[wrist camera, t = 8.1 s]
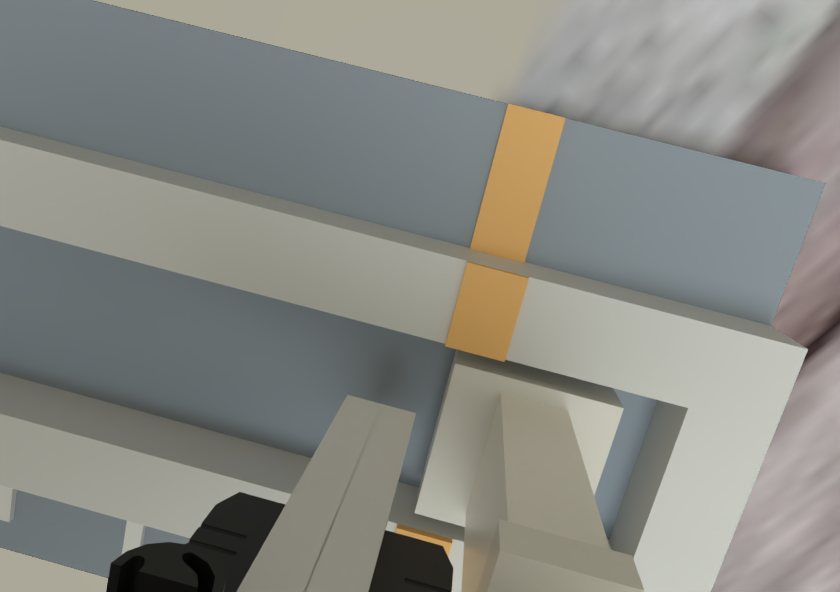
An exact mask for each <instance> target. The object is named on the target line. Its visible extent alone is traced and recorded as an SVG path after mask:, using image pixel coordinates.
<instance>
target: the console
mask: <svg viewBox="0 0 840 592" xmlns="http://www.w3.org/2000/svg"><path fill="white" fill-rule="evenodd" d="M825 184H826V183H823V182H819V181H815V180H811V179H807V178H803V177H799V176H795V175H791V174H787V173H783V172H779V171H775V170H771V169H767V168H763V167H759V166H755V165H751V164H747V163H743V162H739V161H735V160H731V159H727V158H723V157H719V156H715V155H711V154H707V153H703V152H699V151H695V150H691V149H687V148H683V147H679V146H675V145H671V144H667V143H663V142H659V141H655V140H651V139H647V138H643V137H639V136H635V135H631V134H627V133H623V132H619V131H615V130H611V129H607V128H603V127H599V126H595V125H591V124H587V123H583V122H579V121H574V120H570V119H566V118H565V117H561V116H557V115H553V114H549V113H545V112H541V111H537V110H533V109H529V108H525V107H521V106H517V105H513V104H509V103H508V104H506V103H502V102H498V101H494V100H490V99H486V98H482V97H478V96H474V95H470V94H466V93H462V92H458V91H454V90H450V89H446V88H442V87H438V86H434V85H430V84H426V83H422V82H418V81H414V80H410V79H406V78H402V77H398V76H394V75H390V74H386V73H382V72H378V71H374V70H370V69H366V68H362V67H358V66H354V65H350V64H346V63H342V62H338V61H334V60H330V59H326V58H322V57H318V56H314V55H310V54H306V53H302V52H298V51H294V50H290V49H285V48H281V47H277V46H274V45H269V44H265V43H261V42H257V41H253V40H250V39H246V38H242V37H238V36H234V35H230V34H226V33H221V32H217V31H213V30H210V29H206V28H201V27H198V26H194V25H189V24H185V23H181V22H177V21H173V20H169V19H165V18H161V17H157V16H153V15H149V14H145V13H141V12H137V11H133V10H129V9H125V8H121V7H117V6H113V5H109V4H105V3H101V2H97V1H93V0H0V547H1V548H4V549H8V550H11V551H15V552H18V553H22V554H25V555H29V556H32V557H36V558H39V559H43V560H47V561H50V562H53V563H57V564H60V565H64V566H67V567H71V568H75V569H78V570H81V571H85V572H89V573H92V574H95V575H99V576H102V577H106V578H109V571H110V565H111V562H113V561H114V560H115V559H117V558H118V557H119V556H121V555H122V554H123V553H125V552H126V551H129V550H131V549H134V548H137V547H140V546H143V545H146V544H152V543H163V542H173V543H180V544H186V543H189V540H190V538H191V537H192V535H193V534H194V533H195V531H196V530H197V529H198V527H201V524H202V522H203V521H204V519H205V518H206V517H207V515H208V514H209V513H210V511H211V510H212V509H213V508H214V506H215V505H216V504H218V503H220V502H221V501H223V500H225V499H227V498H229V497H231V496H233V495H235V494H237V493H238V492H242V493H246V494H249V495H253V496H257V497H260V498H264V499H267V500H271V501H275V502H278V503H282V504H285V505H286V503H287V501H288V500H289V498H290V496H291V494H292V492H293V491H294V489H295V487H296V485H297V484H298V482H299V480H300V478H301V476H302V475H303V473H304V471H305V469H306V468H307V466H308V464H309V462H310V461H311V459H312V457H313V455H314V453H315V452H316V450H317V448H318V446H319V445H320V443H321V441H322V439H323V437H324V436H325V434H326V432H327V430H328V429H329V427H330V425H331V423H332V421H333V420H334V418H335V416H336V414H337V413H338V411H339V409H340V407H341V406H342V404H343V402H344V400H345V398H346V397H347V395H350V396H354V397H358V398H361V399H365V400H369V401H372V402H376V403H380V404H384V405H387V406H391V407H395V408H398V409H402V410H406V411H409V412H413V413H416V416H415V420H414V423H413V427H412V431H411V435H410V439H409V442H408V446H407V450H406V454H405V458H404V462H403V465H402V469H401V473H400V477H399V481H398V485H397V488H396V492H395V496H394V500H393V504H392V507H391V511H390V515H389V519H388V523H387V527H386V530H387V531H391V532H394V533H398V534H402V535H405V536H409V537H412V538H416V539H420V540H423V541H427V542H430V543H434V544H438V545H441V546H443V547H444V549H445V552H446V554H447V556H448V558H449V560H450V562H451V564H452V566H453V580H452V591H451V592H461V588H462V571H463V554H464V537H465V527H463V526H459V525H455V524H452V523H448V522H445V521H441V520H437V519H434V518H430V517H426V516H423V515H419V514H416V513H415V508H416V503H417V498H418V493H419V488H420V483H421V478H422V474H423V470H424V467H425V463H426V459H427V456H428V452H429V448H430V445H431V441H432V437H433V434H434V430H435V426H436V422H437V419H438V415H439V411H440V408H441V404H442V400H443V397H444V393H445V389H446V386H447V382H448V378H449V374H450V371H451V367H452V363H453V360H454V356H455V352H456V349H457V350H461V351H465V352H468V353H472V354H476V355H480V356H484V357H487V358H491V359H495V360H499V361H502V362H505V360H509V361H512V362H516V363H520V364H524V365H527V366H531V367H535V368H539V369H543V370H546V371H550V372H554V373H558V374H561V375H565V376H569V377H573V378H577V379H580V380H584V381H588V382H592V383H595V384H599V385H603V386H607V387H611V388H614V390H615V392H616V394H617V396H618V398H619V400H620V402H621V404H622V405H623V407H624V410H623V413H622V416H621V419H620V422H619V424H618V427H617V430H616V433H615V436H614V439H613V442H612V445H611V448H610V451H609V454H608V457H607V460H606V463H605V466H604V468H603V471H602V474H601V477H600V480H599V483H598V486H597V489H596V492H595V495H594V498H595V501H596V504H597V508H598V511H599V514H600V517H601V521H602V524H603V527H604V531H605V534H606V537H607V540H608V544H609V547H610V550H614V551H617V552H621V553H624V554H628V555H632V557H633V560H634V562H635V565H636V568H637V571H638V574H639V577H640V579H641V582H642V585H643V588H644V592H711V590H712V587H713V585H714V582H715V580H716V577H717V575H718V572H719V570H720V567H721V565H722V562H723V560H724V557H725V555H726V552H727V550H728V547H729V545H730V542H731V540H732V537H733V535H734V532H735V530H736V527H737V525H738V522H739V520H740V517H741V515H742V512H743V510H744V507H745V505H746V503H747V500H748V498H749V495H750V493H751V490H752V488H753V485H754V483H755V480H756V478H757V475H758V473H759V470H760V468H761V465H762V463H763V460H764V458H765V455H766V453H767V450H768V448H769V445H770V443H771V440H772V438H773V435H774V433H775V430H776V428H777V425H778V423H779V420H780V418H781V416H782V413H783V411H784V408H785V406H786V403H787V401H788V398H789V396H790V393H791V391H792V388H793V386H794V383H795V381H796V378H797V376H798V373H799V371H800V368H801V366H802V363H803V361H804V358H805V356H806V353H807V351H808V349H807V348H805V347H804V346H802V345H800V344H799V343H797V342H796V341H794V340H793V339H791V338H789V337H788V336H786V335H785V334H783V333H782V332H780V331H778V330H777V329H775V328H774V327H772V326H771V324H772V322H773V319H774V316H775V314H776V311H777V309H778V306H779V303H780V301H781V298H782V296H783V293H784V290H785V288H786V285H787V283H788V280H789V277H790V275H791V272H792V270H793V267H794V264H795V262H796V259H797V257H798V254H799V252H800V249H801V246H802V244H803V241H804V239H805V236H806V233H807V231H808V228H809V226H810V223H811V220H812V218H813V215H814V213H815V210H816V207H817V205H818V202H819V200H820V197H821V194H822V192H823V189H824V187H825Z"/></svg>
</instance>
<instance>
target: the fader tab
mask: <svg viewBox="0 0 840 592" xmlns="http://www.w3.org/2000/svg"><path fill="white" fill-rule="evenodd" d="M623 410H624V407H623V405H622V404H621V402H620V400H619V398H618V396H617V394H616V392H615V390H614V388H611V387H607V386H603V385H599V384H595V383H592V382H588V381H584V380H580V379H577V378H573V377H569V376H565V375H561V374H558V373H554V372H550V371H546V370H543V369H539V368H535V367H531V366H527V365H524V364H520V363H516V362H512V361H509V360H505V362H502V361H499V360H495V359H491V358H487V357H484V356H480V355H476V354H472V353H468V352H465V351H461V350H457V349H456V352H455V356H454V360H453V363H452V367H451V371H450V374H449V378H448V382H447V386H446V389H445V393H444V397H443V400H442V404H441V408H440V411H439V415H438V419H437V422H436V426H435V430H434V434H433V437H432V441H431V445H430V448H429V452H428V456H427V459H426V463H425V467H424V470H423V474H422V478H421V483H420V488H419V493H418V498H417V503H416V508H415V513H416V514H419V515H423V516H426V517H430V518H434V519H437V520H441V521H445V522H448V523H452V524H455V525H459V526H463V527H465V537H464V554H463V571H462V588H461V592H644V588H643V585H642V582H641V579H640V577H639V574H638V571H637V568H636V565H635V562H634V560H633V557H632V555H628V554H624V553H621V552H617V551H614V550H610V547H609V544H608V540H607V537H606V534H605V531H604V527H603V524H602V521H601V517H600V514H599V511H598V508H597V504H596V501H595V498H594V495H595V492H596V489H597V486H598V483H599V480H600V477H601V474H602V471H603V468H604V466H605V463H606V460H607V457H608V454H609V451H610V448H611V445H612V442H613V439H614V436H615V433H616V430H617V427H618V424H619V422H620V419H621V416H622V413H623Z"/></svg>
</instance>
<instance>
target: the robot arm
mask: <svg viewBox="0 0 840 592" xmlns="http://www.w3.org/2000/svg"><path fill="white" fill-rule="evenodd" d="M415 416H416V413H413V412H409V411H406V410H402V409H398V408H395V407H391V406H387V405H384V404H380V403H376V402H372V401H369V400H365V399H361V398H358V397H354V396H350V395H347V397H346V398H345V400H344V402H343V404H342V406H341V407H340V409H339V411H338V413H337V414H336V416H335V418H334V420H333V421H332V423H331V425H330V427H329V429H328V430H327V432H326V434H325V436H324V437H323V439H322V441H321V443H320V445H319V446H318V448H317V450H316V452H315V453H314V455H313V457H312V459H311V461H310V462H309V464H308V466H307V468H306V469H305V471H304V473H303V475H302V476H301V478H300V480H299V482H298V484H297V485H296V487H295V489H294V491H293V492H292V494H291V496H290V498H289V500H288V501H287V503H286V505H285V504H282V503H278V502H275V501H271V500H267V499H264V498H260V497H257V496H253V495H249V494H246V493H242V492H238V493H237V494H235V495H233V496H231V497H229V498H227V499H225V500H223V501H221V502H220V503H218V504H216V505H215V506H214V508H213V509H212V510H211V511H210V513H209V514H208V515H207V517H206V518H205V519H204V521H203V522H202V524H201V527H198V529H197V530H196V531H195V533H194V534H193V535H192V537H191V538H190V540H189V543H186V544H180V543H173V542H163V543H152V544H146V545H143V546H140V547H137V548H134V549H131V550H129V551H126V552H125V553H123V554H122V555H121V556H119V557H118V558H117V559H115V560H114V561H113V562H111V565H110V571H109V578H108V584H107V591H106V592H451V591H452V580H453V566H452V564H451V562H450V560H449V558H448V556H447V554H446V552H445V549H444V547H443V546H441V545H438V544H434V543H430V542H427V541H423V540H420V539H416V538H412V537H409V536H405V535H402V534H398V533H394V532H391V531H387V530H386V527H387V523H388V519H389V515H390V511H391V507H392V504H393V500H394V496H395V492H396V488H397V485H398V481H399V477H400V473H401V469H402V465H403V462H404V458H405V454H406V450H407V446H408V442H409V439H410V435H411V431H412V427H413V423H414V420H415Z"/></svg>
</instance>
